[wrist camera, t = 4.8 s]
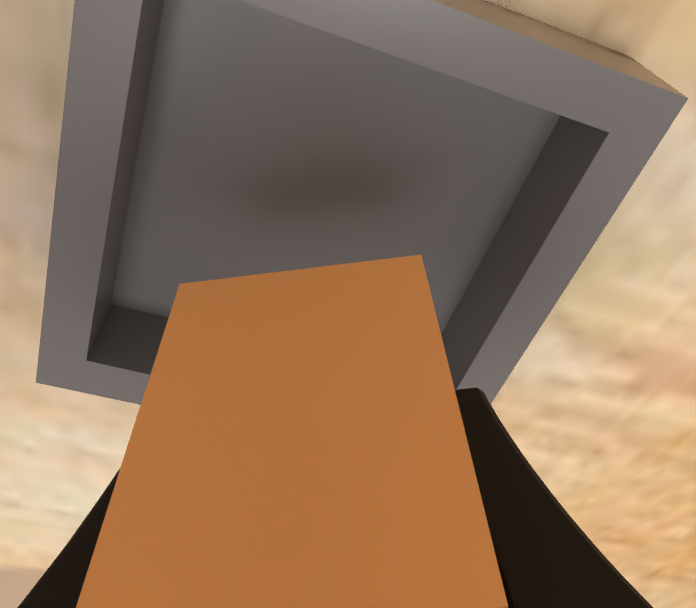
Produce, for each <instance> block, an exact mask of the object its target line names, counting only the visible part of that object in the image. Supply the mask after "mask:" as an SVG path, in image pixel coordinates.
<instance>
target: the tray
mask: <svg viewBox="0 0 696 608" xmlns="http://www.w3.org/2000/svg"><path fill="white" fill-rule="evenodd" d="M687 99H688V98H687V97H686V96H684V95H683V94H681V93H680V92H679V91H677V90H676V89H674V88H673V87H672V86H670V85H669V84H667V83H666V82H665V81H663V80H662V79H660V78H659V77H658V76H656V75H655V74H653V73H652V72H651V71H649V70H648V69H646V68H645V67H643V66H642V65H641V64H639V63H638V62H636V61H635V60H634V59H632V58H631V57H629V56H626V55H624V54H621V53H619V52H616V51H613V50H611V49H608V48H606V47H603V46H601V45H598V44H596V43H593V42H590V41H588V40H585V39H583V38H580V37H578V36H575V35H572V34H570V33H567V32H565V31H562V30H560V29H557V28H555V27H552V26H549V25H547V24H544V23H542V22H539V21H537V20H534V19H531V18H529V17H526V16H524V15H521V14H519V13H516V12H514V11H511V10H508V9H506V8H503V7H501V6H498V5H496V4H493V3H490V2H488V1H485V0H75V5H74V14H73V24H72V34H71V44H70V54H69V63H68V73H67V83H66V93H65V103H64V112H63V122H62V132H61V142H60V152H59V162H58V171H57V181H56V191H55V201H54V211H53V220H52V230H51V240H50V250H49V260H48V269H47V279H46V289H45V299H44V309H43V318H42V328H41V338H40V348H39V358H38V368H37V377H36V383H41V384H46V385H50V386H55V387H60V388H65V389H69V390H74V391H79V392H84V393H88V394H93V395H98V396H102V397H107V398H112V399H117V400H121V401H126V402H131V403H136V404H140V405H141V403H142V400H143V396H144V393H145V390H146V387H147V384H148V381H149V378H150V375H151V371H152V368H153V365H154V362H155V359H156V356H157V353H158V350H159V346H160V343H161V340H162V337H163V334H164V331H165V328H166V325H167V321H168V318H169V315H170V312H171V309H172V306H173V303H174V300H175V296H176V293H177V290H178V287H179V284H182V283H191V282H199V281H207V280H215V279H224V278H232V277H240V276H248V275H257V274H265V273H273V272H281V271H289V270H298V269H306V268H314V267H322V266H331V265H339V264H347V263H355V262H364V261H372V260H380V259H388V258H397V257H405V256H413V255H422V259H423V263H424V268H425V272H426V276H427V280H428V284H429V288H430V292H431V296H432V300H433V304H434V308H435V312H436V316H437V320H438V324H439V328H440V332H441V336H442V340H443V344H444V348H445V352H446V357H447V361H448V365H449V369H450V373H451V377H452V381H453V385H454V389H455V390H458V389H467V388H476V387H477V388H479V389H480V390H482V391H483V392H484V393H485V395H486V397H487V399H488V401H489V403H490V404H491V403H492V401H493V400H494V398H495V397H496V395H497V393H498V392H499V390H500V389H501V387H502V386H503V384H504V383H505V381H506V380H507V378H508V376H509V375H510V373H511V372H512V370H513V369H514V367H515V366H516V364H517V362H518V361H519V359H520V358H521V356H522V355H523V353H524V352H525V350H526V349H527V347H528V345H529V344H530V342H531V341H532V339H533V338H534V336H535V335H536V333H537V332H538V330H539V328H540V327H541V325H542V324H543V322H544V321H545V319H546V318H547V316H548V315H549V313H550V311H551V310H552V308H553V307H554V305H555V304H556V302H557V301H558V299H559V297H560V296H561V294H562V293H563V291H564V290H565V288H566V287H567V285H568V284H569V282H570V280H571V279H572V277H573V276H574V274H575V273H576V271H577V270H578V268H579V267H580V265H581V263H582V262H583V260H584V259H585V257H586V256H587V254H588V253H589V251H590V250H591V248H592V246H593V245H594V243H595V242H596V240H597V239H598V237H599V236H600V234H601V232H602V231H603V229H604V228H605V226H606V225H607V223H608V222H609V220H610V219H611V217H612V215H613V214H614V212H615V211H616V209H617V208H618V206H619V205H620V203H621V202H622V200H623V198H624V197H625V195H626V194H627V192H628V191H629V189H630V188H631V186H632V185H633V183H634V181H635V180H636V178H637V177H638V175H639V174H640V172H641V171H642V169H643V167H644V166H645V164H646V163H647V161H648V160H649V158H650V157H651V155H652V154H653V152H654V150H655V149H656V147H657V146H658V144H659V143H660V141H661V140H662V138H663V137H664V135H665V133H666V132H667V130H668V129H669V127H670V126H671V124H672V123H673V121H674V120H675V118H676V116H677V115H678V113H679V112H680V110H681V109H682V107H683V106H684V104H685V102H686V101H687Z"/></svg>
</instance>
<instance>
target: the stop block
mask: <svg viewBox="0 0 696 608" xmlns="http://www.w3.org/2000/svg"><path fill="white" fill-rule="evenodd" d="M76 608H508V603H507V599H506V595H505V591H504V587H503V583H502V579H501V575H500V571H499V567H498V563H497V559H496V555H495V551H494V547H493V543H492V539H491V535H490V531H489V526H488V522H487V518H486V514H485V510H484V506H483V502H482V498H481V494H480V490H479V486H478V482H477V478H476V474H475V470H474V466H473V462H472V458H471V454H470V450H469V446H468V442H467V437H466V433H465V429H464V425H463V421H462V417H461V413H460V409H459V405H458V401H457V397H456V393H455V389H454V385H453V381H452V377H451V373H450V369H449V365H448V361H447V357H446V352H445V348H444V344H443V340H442V336H441V332H440V328H439V324H438V320H437V316H436V312H435V308H434V304H433V300H432V296H431V292H430V288H429V284H428V280H427V276H426V272H425V268H424V263H423V259H422V255H413V256H405V257H397V258H388V259H380V260H372V261H364V262H355V263H347V264H339V265H331V266H322V267H314V268H306V269H298V270H289V271H281V272H273V273H265V274H257V275H248V276H240V277H232V278H224V279H215V280H207V281H199V282H191V283H182V284H179V287H178V290H177V293H176V296H175V300H174V303H173V306H172V309H171V312H170V315H169V318H168V321H167V325H166V328H165V331H164V334H163V337H162V340H161V343H160V346H159V350H158V353H157V356H156V359H155V362H154V365H153V368H152V371H151V375H150V378H149V381H148V384H147V387H146V390H145V393H144V396H143V400H142V403H141V406H140V409H139V412H138V415H137V418H136V421H135V424H134V428H133V431H132V434H131V437H130V440H129V443H128V446H127V449H126V453H125V456H124V459H123V462H122V465H121V468H120V471H119V474H118V478H117V481H116V484H115V487H114V490H113V493H112V496H111V499H110V503H109V506H108V509H107V512H106V515H105V518H104V521H103V524H102V528H101V531H100V534H99V537H98V540H97V543H96V546H95V549H94V553H93V556H92V559H91V562H90V565H89V568H88V571H87V574H86V578H85V581H84V584H83V587H82V590H81V593H80V596H79V599H78V603H77V606H76Z"/></svg>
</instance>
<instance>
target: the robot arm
mask: <svg viewBox="0 0 696 608" xmlns="http://www.w3.org/2000/svg"><path fill="white" fill-rule="evenodd" d="M455 393H456V397H457V401H458V405H459V409H460V413H461V417H462V421H463V425H464V429H465V433H466V437H467V442H468V446H469V450H470V454H471V458H472V462H473V466H474V470H475V474H476V478H477V482H478V486H479V490H480V494H481V498H482V502H483V506H484V510H485V514H486V518H487V522H488V526H489V531H490V535H491V539H492V543H493V547H494V551H495V555H496V559H497V563H498V567H499V571H500V575H501V579H502V583H503V587H504V591H505V595H506V599H507V603H508V608H653V607H652V606H651V605H650V604H649V603H648V602H647V601H646V600H645V599H644V598H643V597H642V596H641V595H640V594H639V592H638V591H637V590H636V589H635V588H634V587H633V586H632V585H631V584H630V583H629V582H628V581H627V580H626V579H625V578H624V577H623V576H622V575H621V574H620V573H619V572H618V570H617V569H616V568H615V567H614V566H613V565H612V564H611V563H610V562H609V561H608V560H607V558H606V557H605V556H604V555H603V554H602V553H601V552H600V551H599V550H598V548H597V547H596V546H595V545H594V544H593V543H592V541H591V540H590V539H589V538H588V537H587V536H586V534H585V533H584V532H583V531H582V530H581V529H580V527H579V526H578V525H577V524H576V523H575V522H574V520H573V519H572V518H571V517H570V516H569V514H568V513H567V512H566V511H565V509H564V508H563V507H562V506H561V504H560V503H559V502H558V501H557V499H556V498H555V497H554V496H553V494H552V493H551V492H550V490H549V489H548V488H547V486H546V485H545V484H544V482H543V481H542V480H541V479H540V477H539V476H538V475H537V473H536V472H535V471H534V469H533V468H532V467H531V465H530V464H529V463H528V461H527V460H526V458H525V457H524V456H523V454H522V453H521V451H520V450H519V448H518V447H517V445H516V444H515V442H514V441H513V440H512V438H511V437H510V435H509V434H508V432H507V431H506V429H505V427H504V426H503V424H502V423H501V421H500V420H499V418H498V416H497V415H496V413H495V411H494V410H493V408H492V406H491V404H490V403H489V401H488V399H487V397H486V395H485V393H484V392H483V391H482V390H480V389H479V388H477V387H476V388H467V389H458V390H455ZM119 471H120V469H119ZM119 471H118V472H117V474H116V475H115V477H114V478H113V479H112V481H111V482H110V484H109V485H108V487H107V488H106V490H105V491H104V493H103V494H102V496H101V497H100V499H99V500H98V501H97V503H96V504H95V506H94V507H93V508H92V510H91V511H90V513H89V514H88V515H87V517H86V518H85V520H84V521H83V522H82V524H81V525H80V527H79V528H78V529H77V531H76V532H75V534H74V535H73V536H72V538H71V539H70V541H69V542H68V543H67V545H66V546H65V547H64V549H63V550H62V551H61V553H60V554H59V555H58V557H57V558H56V559H55V560H54V562H53V563H52V564H51V566H50V567H49V568H48V569H47V571H46V572H45V573H44V575H43V576H42V577H41V578H40V580H39V581H38V582H37V584H36V585H35V586H34V588H33V589H32V590H31V591H30V593H29V594H28V595H27V596H26V598H25V599H24V600H23V601H22V603H21V604H20V605H19V606H18V608H76V606H77V603H78V599H79V596H80V593H81V590H82V587H83V584H84V581H85V578H86V574H87V571H88V568H89V565H90V562H91V559H92V556H93V553H94V549H95V546H96V543H97V540H98V537H99V534H100V531H101V528H102V524H103V521H104V518H105V515H106V512H107V509H108V506H109V503H110V499H111V496H112V493H113V490H114V487H115V484H116V481H117V478H118V474H119Z"/></svg>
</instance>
